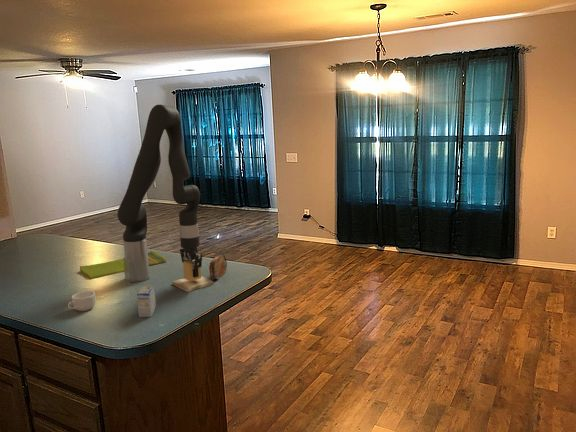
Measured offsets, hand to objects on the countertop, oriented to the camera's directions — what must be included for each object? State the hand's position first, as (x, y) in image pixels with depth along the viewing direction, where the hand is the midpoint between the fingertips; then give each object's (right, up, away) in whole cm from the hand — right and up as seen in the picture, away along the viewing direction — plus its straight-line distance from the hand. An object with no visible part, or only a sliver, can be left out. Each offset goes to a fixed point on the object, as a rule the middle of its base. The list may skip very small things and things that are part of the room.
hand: (192, 275), depth 188 cm
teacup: (-35, -10, -23) cm, 43 cm away
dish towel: (-37, 0, +26) cm, 45 cm away
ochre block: (0, -1, 0) cm, 1 cm away
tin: (+9, -2, +10) cm, 14 cm away
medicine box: (-10, -10, -26) cm, 30 cm away
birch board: (0, -4, +1) cm, 4 cm away
